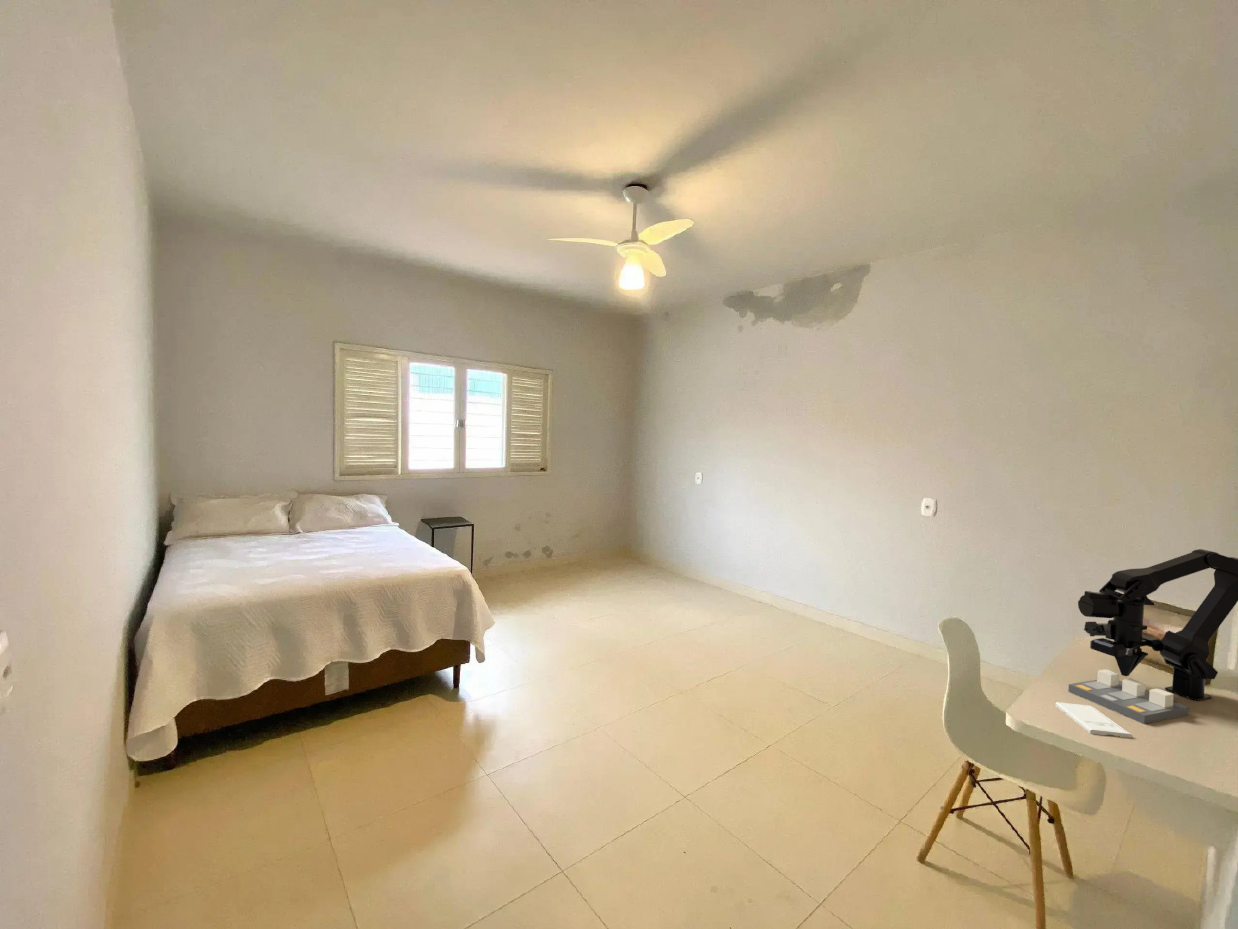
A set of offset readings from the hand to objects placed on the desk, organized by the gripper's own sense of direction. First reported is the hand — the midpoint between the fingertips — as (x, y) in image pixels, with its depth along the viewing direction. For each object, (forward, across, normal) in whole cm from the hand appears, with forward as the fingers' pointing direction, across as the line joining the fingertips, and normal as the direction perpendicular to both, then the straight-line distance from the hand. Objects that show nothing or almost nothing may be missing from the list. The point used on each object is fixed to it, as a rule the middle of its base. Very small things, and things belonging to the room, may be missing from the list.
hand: (1124, 675), depth 138 cm
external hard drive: (+4, +28, +9) cm, 30 cm away
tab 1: (+1, +6, 0) cm, 7 cm away
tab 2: (+1, +7, +6) cm, 9 cm away
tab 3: (+1, +6, +11) cm, 13 cm away
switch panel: (+4, +9, +6) cm, 11 cm away
